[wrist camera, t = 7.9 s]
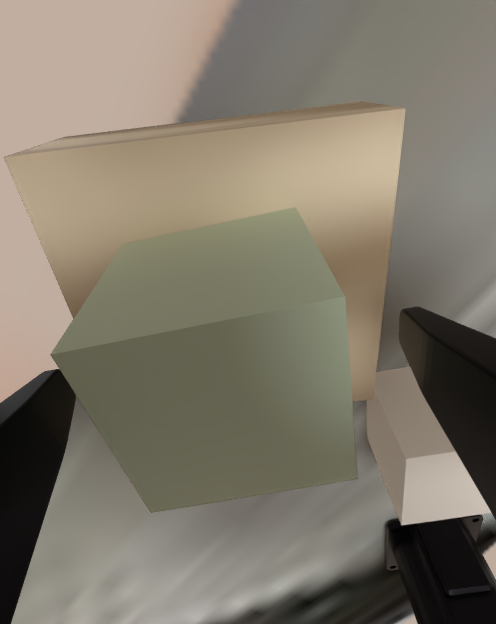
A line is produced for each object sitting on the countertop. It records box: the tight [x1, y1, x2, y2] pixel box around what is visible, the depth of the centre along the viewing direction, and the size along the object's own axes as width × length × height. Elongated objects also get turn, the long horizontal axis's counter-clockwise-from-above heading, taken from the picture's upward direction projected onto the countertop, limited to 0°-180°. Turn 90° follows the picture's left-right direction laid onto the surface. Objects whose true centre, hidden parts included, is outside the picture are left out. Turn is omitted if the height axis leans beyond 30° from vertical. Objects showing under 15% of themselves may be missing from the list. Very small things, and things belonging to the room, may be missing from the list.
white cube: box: [367, 366, 491, 525], centre depth 17 cm, size 5×5×5 cm
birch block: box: [4, 102, 406, 402], centre depth 13 cm, size 10×10×4 cm
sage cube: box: [51, 207, 358, 513], centre depth 9 cm, size 5×5×5 cm
